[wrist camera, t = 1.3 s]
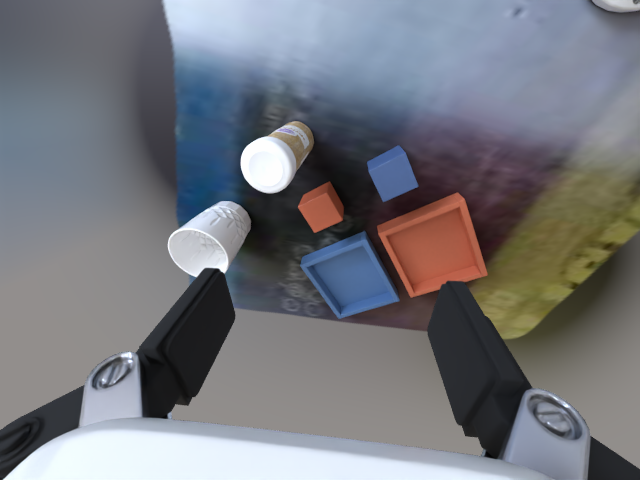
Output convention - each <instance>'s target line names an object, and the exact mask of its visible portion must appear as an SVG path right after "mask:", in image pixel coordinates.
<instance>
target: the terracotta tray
mask: <svg viewBox="0 0 640 480" xmlns="http://www.w3.org/2000/svg"><path fill="white" fill-rule="evenodd" d="M377 229H378V234H379V236H380V238H381V240H382V242H383V244H384V246H385V248H386V250H387V252H388V254H389V256H390V258H391V260H392V262H393V264H394V266H395V267H396V269H397V271H398V273H399V275H400V277H401V279H402V281H403V283H404V285H405V287H406V289H407V291H408V293H409V295H410V297H411V298H412V297H415V296H418V295H422V294H425V293H429V292H432V291H435V290H439V289H440V287H441V285H442V284H446V282H447V281H463V282H466V281H470V280H473V279H476V278H480V277H483V276H487V275H488V274H487V271H486V267H485V264H484V261H483V257H482V254H481V251H480V248H479V244H478V241H477V238H476V234H475V231H474V228H473V225H472V221H471V218H470V215H469V211H468V208H467V205H466V202H465V199H464V198H463V197H462V196H461V195H460V194H459V193H458V192H457V193H455V194H452V195H450V196H448V197H445V198H443V199H440V200H438V201H436V202H433V203H431V204H428V205H426V206H424V207H421V208H419V209H416V210H414V211H411V212H409V213H407V214H404V215H402V216H399V217H397V218H395V219H392V220H390V221H387V222H385V223H383V224H380V225H378V226H377Z"/></svg>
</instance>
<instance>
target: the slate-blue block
mask: <svg viewBox="0 0 640 480" xmlns="http://www.w3.org/2000/svg"><path fill="white" fill-rule="evenodd" d="M367 165H368V170H369V173H370V175H371V177H372V180H373V182H374V184H375V186H376V188H377V190H378V192H379V194H380V197H381V199H382V201H383V202H385V201H387V200H390V199H392V198H394V197H396V196H399V195H401V194H403V193H405V192H408V191H410V190H412V189H414V188H416V187H418V184H417V181H416V178H415V176H414V173H413V171H412V168H411V166H410V163H409V160H408V158H407V155H406V153H405V152H404V150H403V149H402V148H401V147H400V145H398V146H396V147H395V148H393V149H391V150H389V151H387V152H385V153H383V154H381V155H379V156H377V157H375V158H373V159H371V160H370V161H368V162H367Z"/></svg>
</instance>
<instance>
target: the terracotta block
mask: <svg viewBox="0 0 640 480" xmlns="http://www.w3.org/2000/svg"><path fill="white" fill-rule="evenodd" d="M298 208H299V209H300V211H301V212H302V214H303V216H304V217H305V219H306V220H307V222H308V223H309V225H310V226H311V228H312V229H313V231H314V233H316V232H318V231H320V230H322V229H325V228H327V227H329V226H331V225H334V224H336V223H338V222H340V221H342V220H343V212H344V206H343V204H342V202H341V201H340V199H339V197H338V195H337V193H336V192H335V190H334V188H333V186H332V184H331V183H330V181H329V182H327V183H325V184H323V185H322V186H320V187H318V188H316V189H314V190H312V191H310V192H308V193H306V194H304V195H303V197H302V200H301V202H300V204H299V206H298Z"/></svg>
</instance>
